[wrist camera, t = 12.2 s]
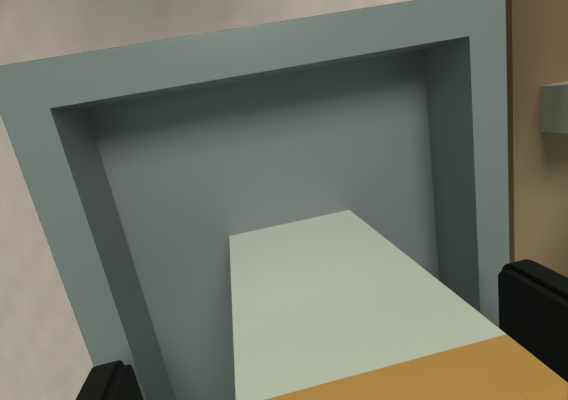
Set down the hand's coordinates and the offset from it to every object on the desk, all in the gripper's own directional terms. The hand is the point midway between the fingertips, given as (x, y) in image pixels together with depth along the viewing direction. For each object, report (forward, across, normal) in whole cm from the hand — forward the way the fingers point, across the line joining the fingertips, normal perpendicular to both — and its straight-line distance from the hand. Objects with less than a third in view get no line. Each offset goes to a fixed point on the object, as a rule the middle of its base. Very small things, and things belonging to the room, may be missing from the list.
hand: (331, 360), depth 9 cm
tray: (+4, 0, 0) cm, 4 cm away
